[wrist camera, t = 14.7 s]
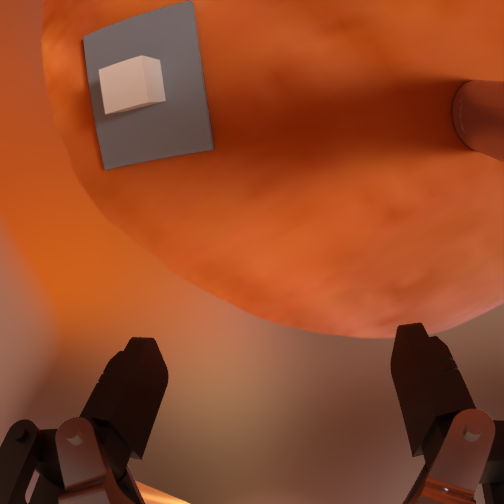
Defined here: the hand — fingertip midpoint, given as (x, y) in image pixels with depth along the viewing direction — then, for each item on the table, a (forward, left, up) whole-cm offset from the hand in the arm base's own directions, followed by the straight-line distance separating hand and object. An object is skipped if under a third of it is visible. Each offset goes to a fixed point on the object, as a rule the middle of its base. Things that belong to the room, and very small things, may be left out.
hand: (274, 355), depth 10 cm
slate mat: (+14, -12, -28) cm, 34 cm away
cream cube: (+14, -12, -27) cm, 33 cm away
